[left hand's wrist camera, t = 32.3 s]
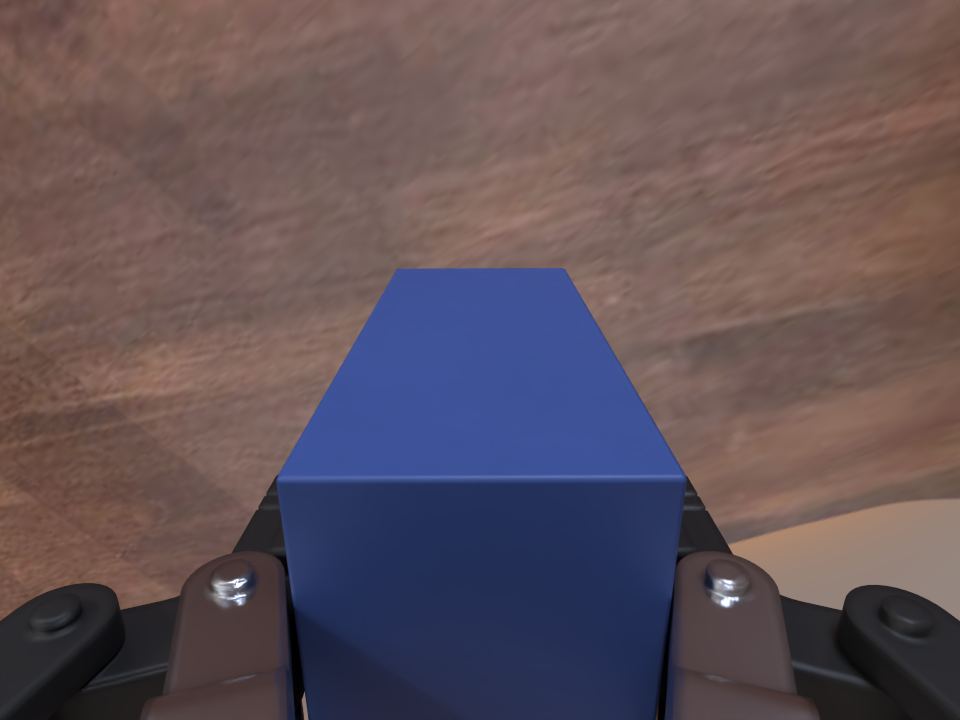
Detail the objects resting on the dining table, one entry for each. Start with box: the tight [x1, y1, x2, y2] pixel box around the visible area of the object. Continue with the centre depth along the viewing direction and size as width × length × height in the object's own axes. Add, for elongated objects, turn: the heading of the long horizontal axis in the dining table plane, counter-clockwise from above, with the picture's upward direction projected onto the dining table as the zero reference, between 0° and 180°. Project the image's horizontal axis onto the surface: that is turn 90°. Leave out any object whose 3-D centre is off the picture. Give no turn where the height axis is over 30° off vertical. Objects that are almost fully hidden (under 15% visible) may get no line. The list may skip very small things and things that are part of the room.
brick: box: [276, 268, 687, 720], centre depth 13 cm, size 4×6×11 cm
